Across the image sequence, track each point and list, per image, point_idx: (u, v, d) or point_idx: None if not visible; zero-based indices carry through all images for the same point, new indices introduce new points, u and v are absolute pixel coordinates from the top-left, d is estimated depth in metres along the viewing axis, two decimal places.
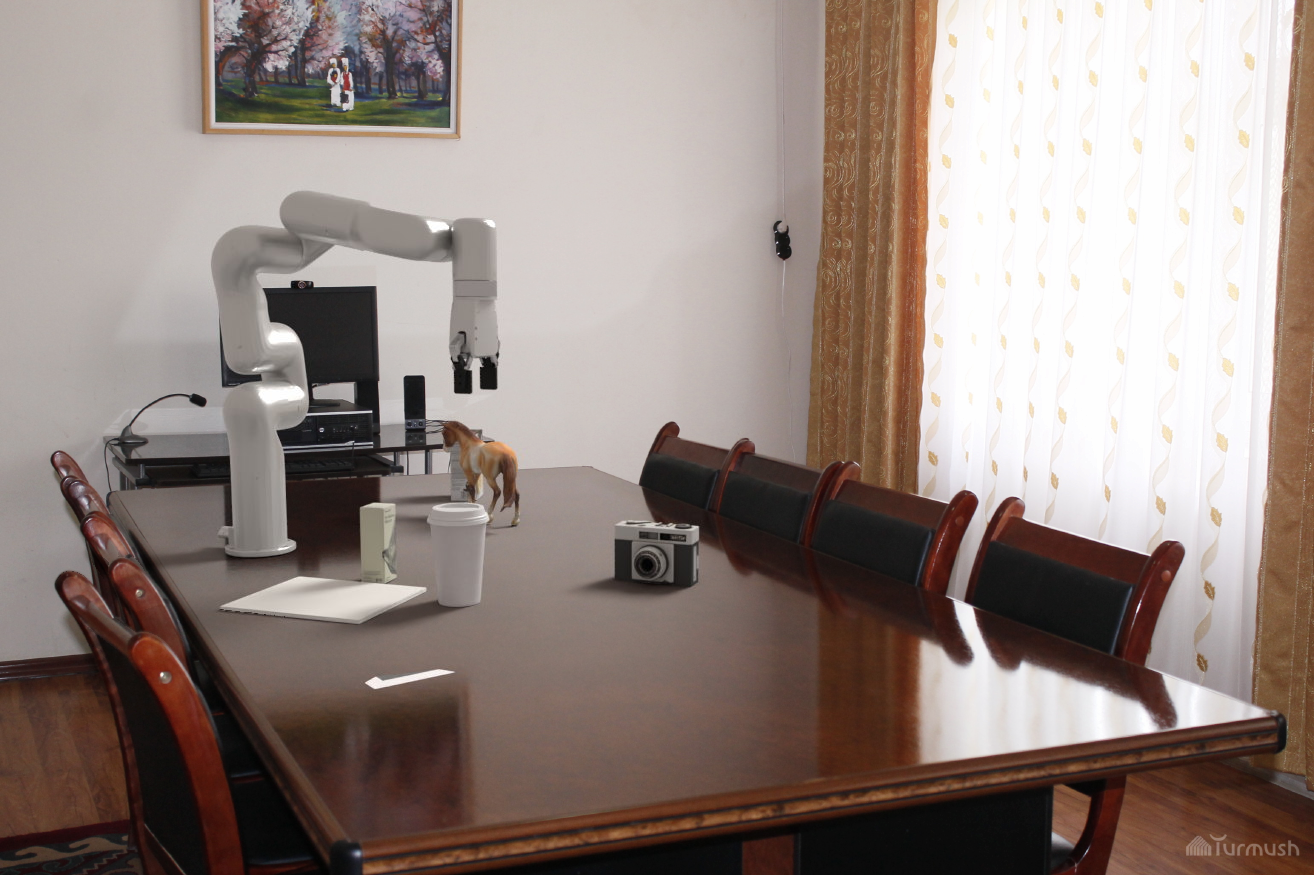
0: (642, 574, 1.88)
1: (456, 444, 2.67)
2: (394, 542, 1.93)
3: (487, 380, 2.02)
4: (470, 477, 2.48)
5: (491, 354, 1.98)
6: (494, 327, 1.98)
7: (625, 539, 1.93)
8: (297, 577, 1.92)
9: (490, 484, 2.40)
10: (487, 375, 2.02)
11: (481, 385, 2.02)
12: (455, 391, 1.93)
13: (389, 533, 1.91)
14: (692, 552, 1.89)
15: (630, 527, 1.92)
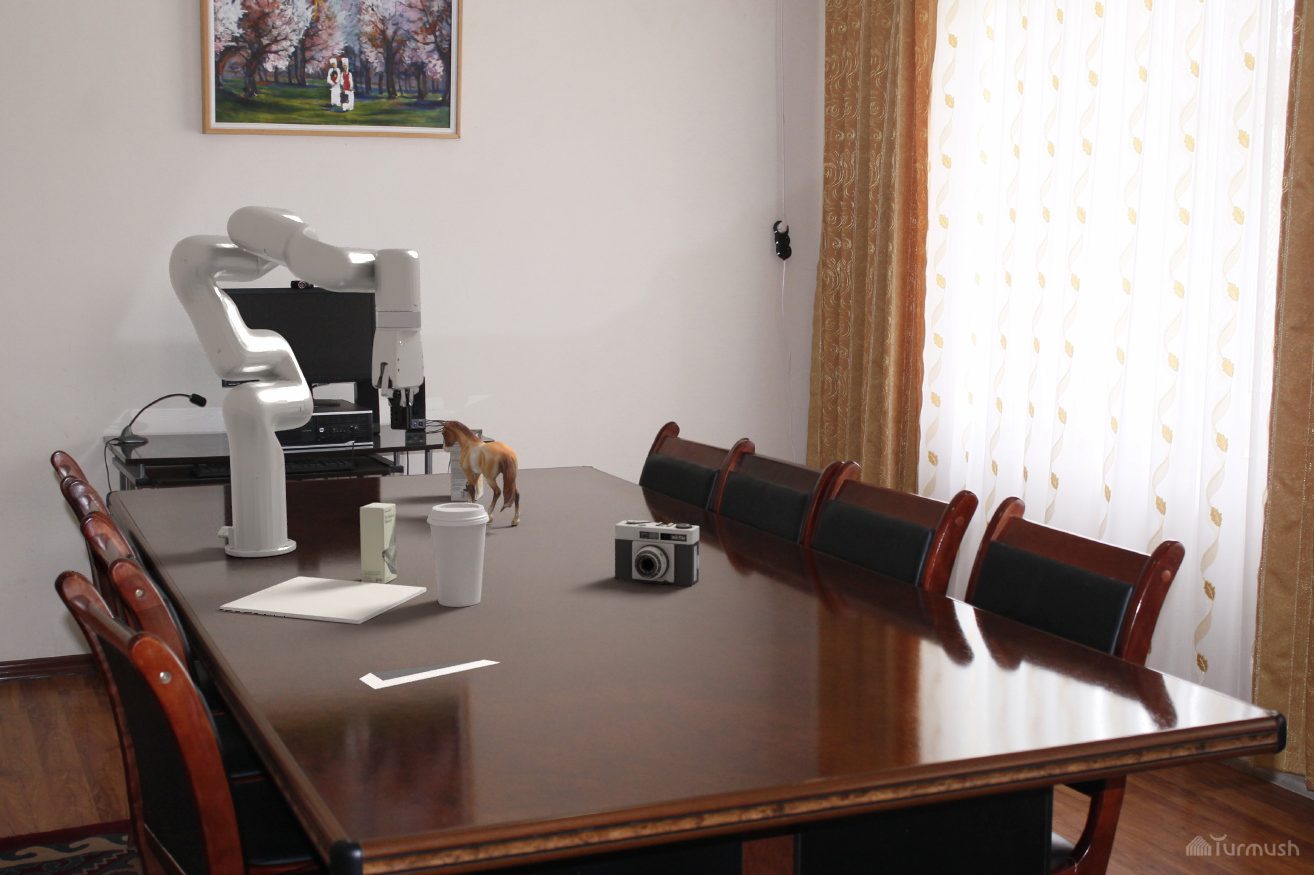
0: (643, 574, 1.88)
1: (456, 444, 2.67)
2: (394, 542, 1.93)
3: None
4: (470, 477, 2.48)
5: (416, 384, 1.98)
6: (419, 357, 1.98)
7: (625, 539, 1.93)
8: (297, 577, 1.92)
9: (490, 484, 2.40)
10: None
11: None
12: (392, 427, 1.97)
13: (389, 533, 1.91)
14: (693, 552, 1.90)
15: (630, 527, 1.92)
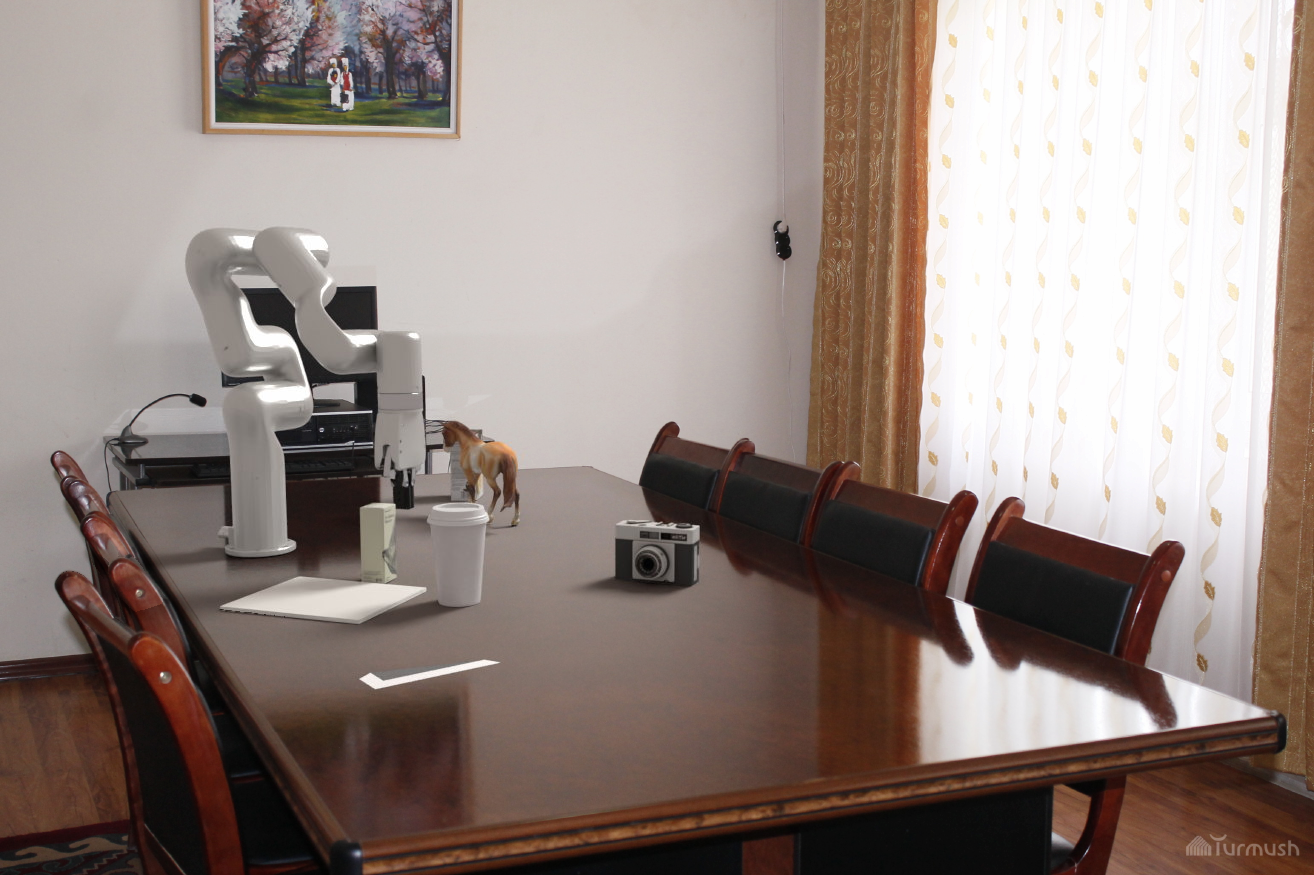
0: (643, 573, 1.89)
1: (456, 444, 2.67)
2: (394, 542, 1.93)
3: None
4: (470, 477, 2.48)
5: (418, 464, 1.99)
6: (421, 437, 1.99)
7: (626, 539, 1.93)
8: (297, 577, 1.92)
9: (490, 484, 2.40)
10: None
11: None
12: None
13: (389, 533, 1.91)
14: (693, 551, 1.90)
15: (631, 527, 1.92)
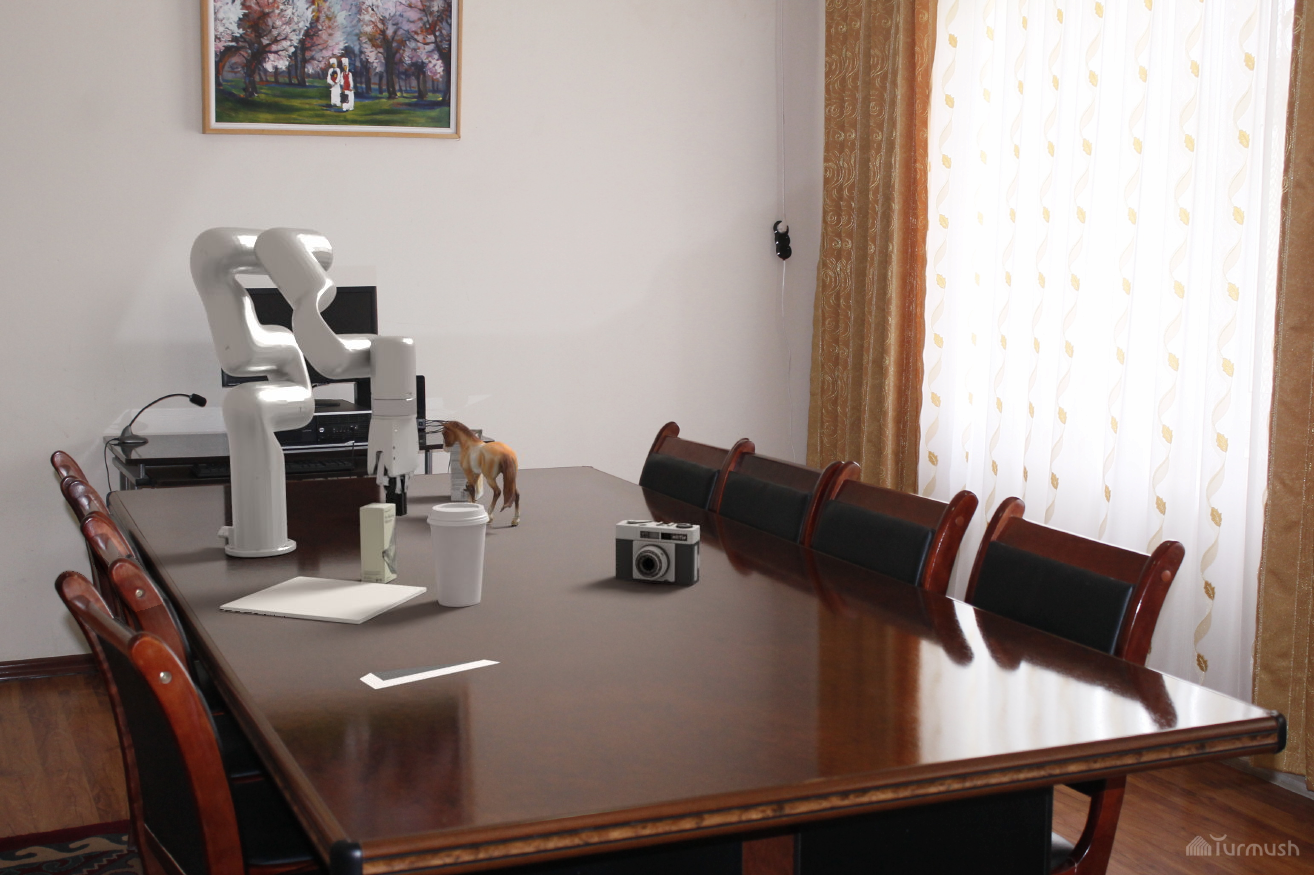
0: (643, 573, 1.89)
1: (456, 444, 2.67)
2: (394, 542, 1.93)
3: None
4: (470, 477, 2.48)
5: (411, 470, 1.98)
6: (414, 443, 1.98)
7: (626, 539, 1.93)
8: (297, 577, 1.92)
9: (490, 484, 2.40)
10: None
11: None
12: None
13: (389, 533, 1.91)
14: (693, 551, 1.90)
15: (631, 526, 1.93)
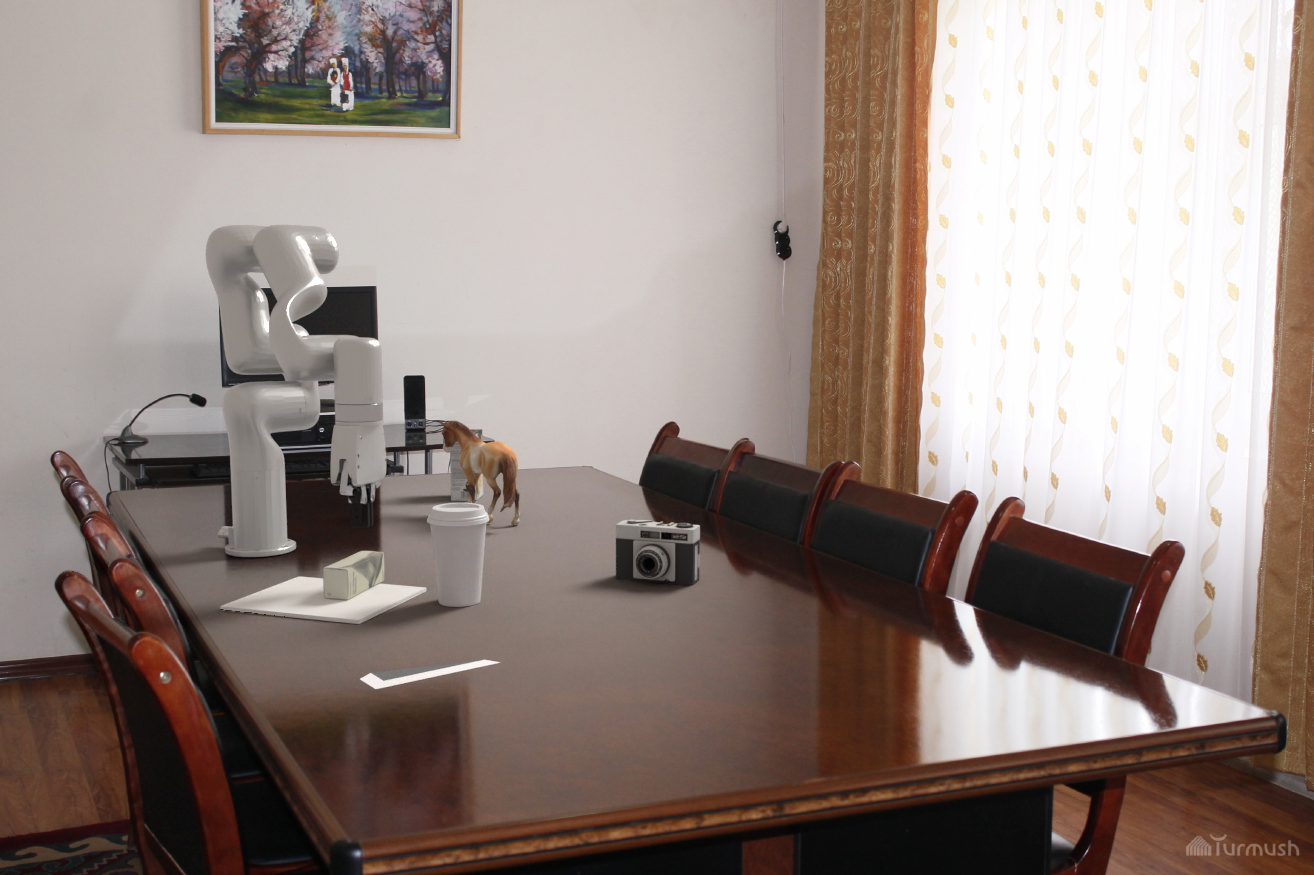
0: (644, 573, 1.89)
1: (456, 444, 2.67)
2: (367, 565, 1.83)
3: None
4: (470, 477, 2.48)
5: (378, 479, 1.87)
6: (381, 450, 1.87)
7: (626, 539, 1.93)
8: (297, 577, 1.92)
9: (490, 484, 2.40)
10: None
11: None
12: (352, 524, 1.86)
13: (362, 580, 1.82)
14: (694, 551, 1.90)
15: (631, 526, 1.93)
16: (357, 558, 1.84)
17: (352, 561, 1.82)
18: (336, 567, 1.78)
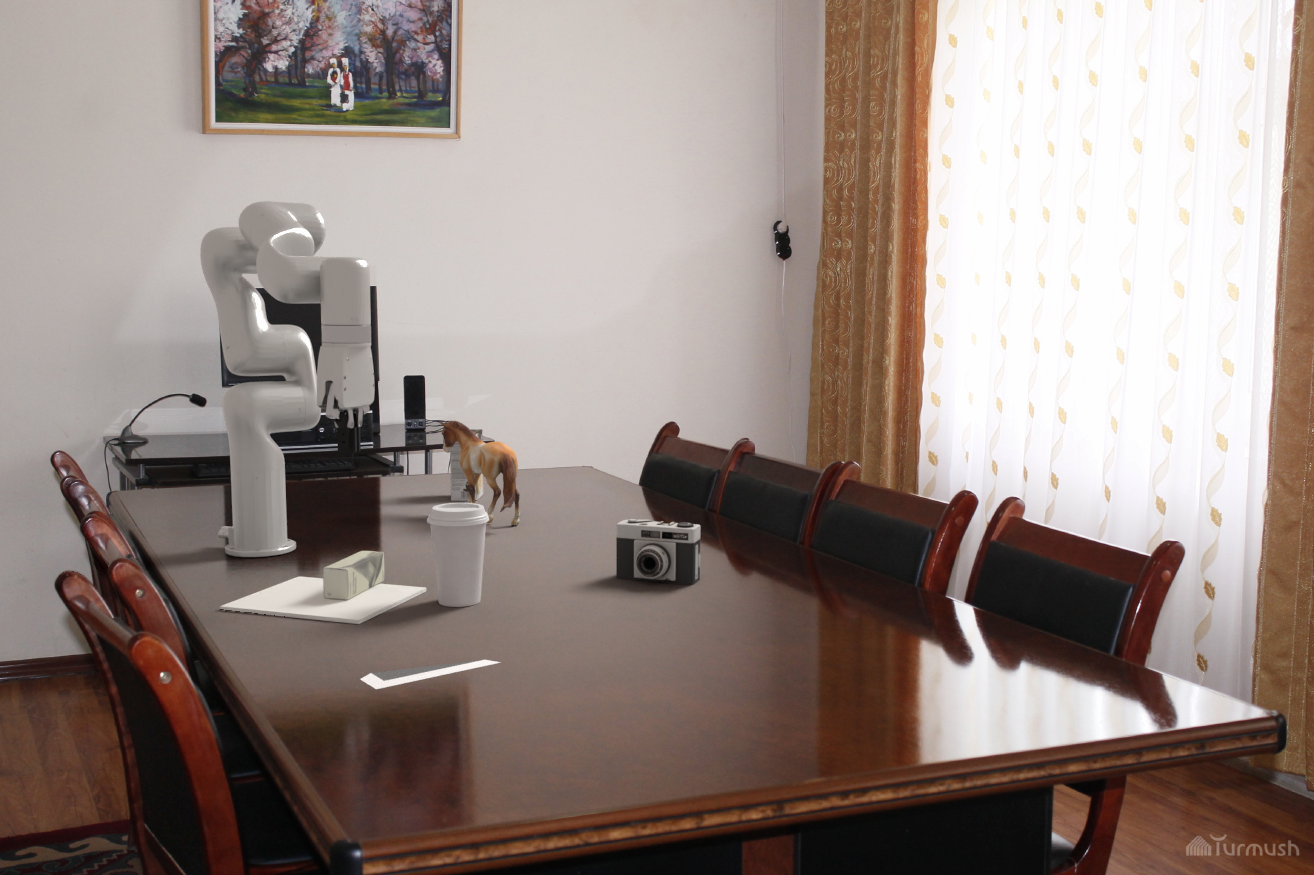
0: (645, 572, 1.89)
1: (456, 444, 2.67)
2: (367, 565, 1.83)
3: None
4: (470, 477, 2.48)
5: (366, 404, 1.83)
6: (369, 374, 1.83)
7: (627, 538, 1.94)
8: (297, 577, 1.92)
9: (490, 484, 2.40)
10: None
11: None
12: (339, 450, 1.82)
13: (362, 580, 1.82)
14: (694, 550, 1.91)
15: (632, 526, 1.93)
16: (357, 558, 1.84)
17: (352, 561, 1.82)
18: (336, 567, 1.78)
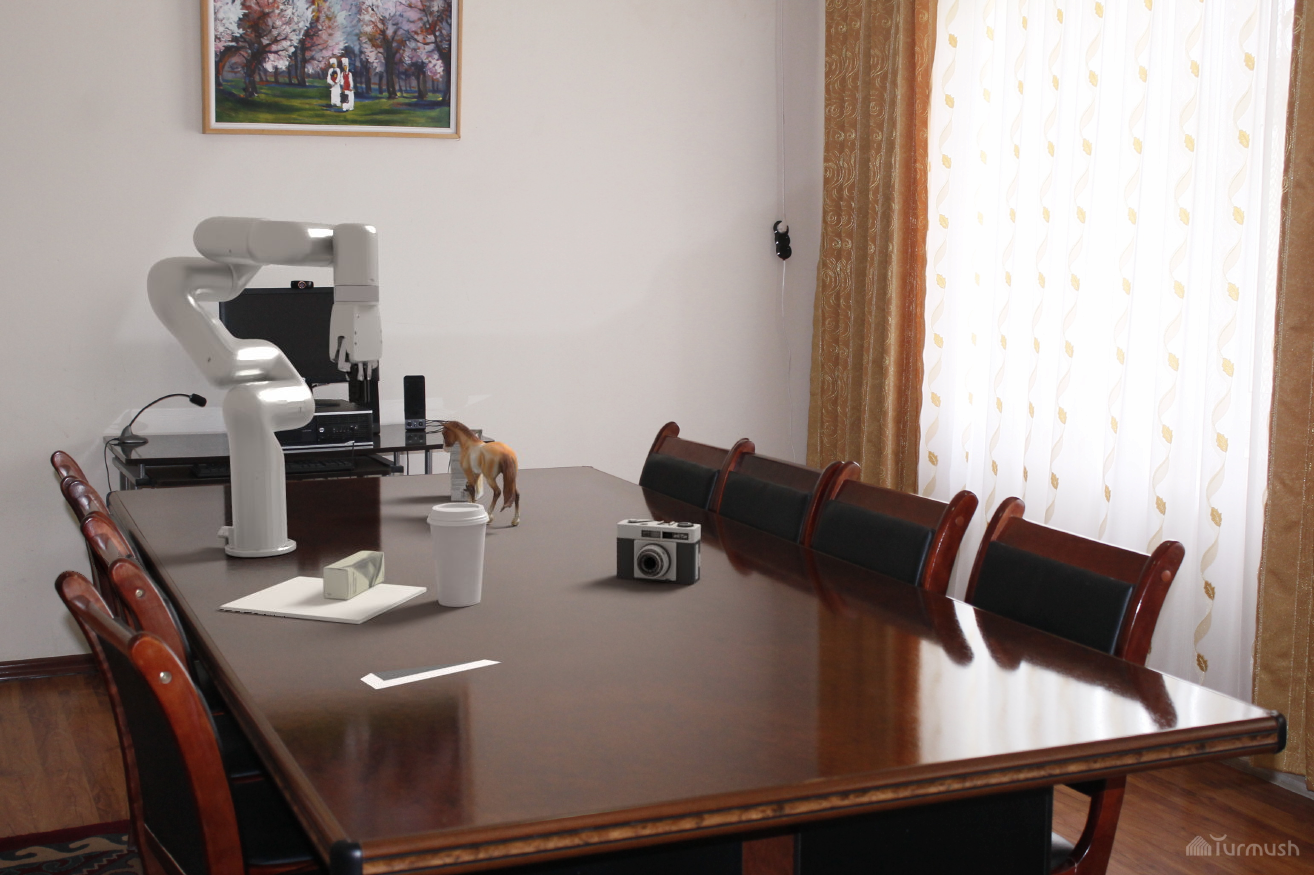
0: (645, 572, 1.90)
1: (456, 444, 2.67)
2: (367, 565, 1.83)
3: None
4: (470, 477, 2.48)
5: (374, 358, 2.00)
6: (377, 332, 2.00)
7: (627, 538, 1.94)
8: (297, 577, 1.92)
9: (490, 484, 2.40)
10: None
11: None
12: (350, 400, 1.99)
13: (362, 580, 1.82)
14: (694, 550, 1.91)
15: (632, 526, 1.93)
16: (357, 558, 1.84)
17: (352, 561, 1.82)
18: (336, 567, 1.78)
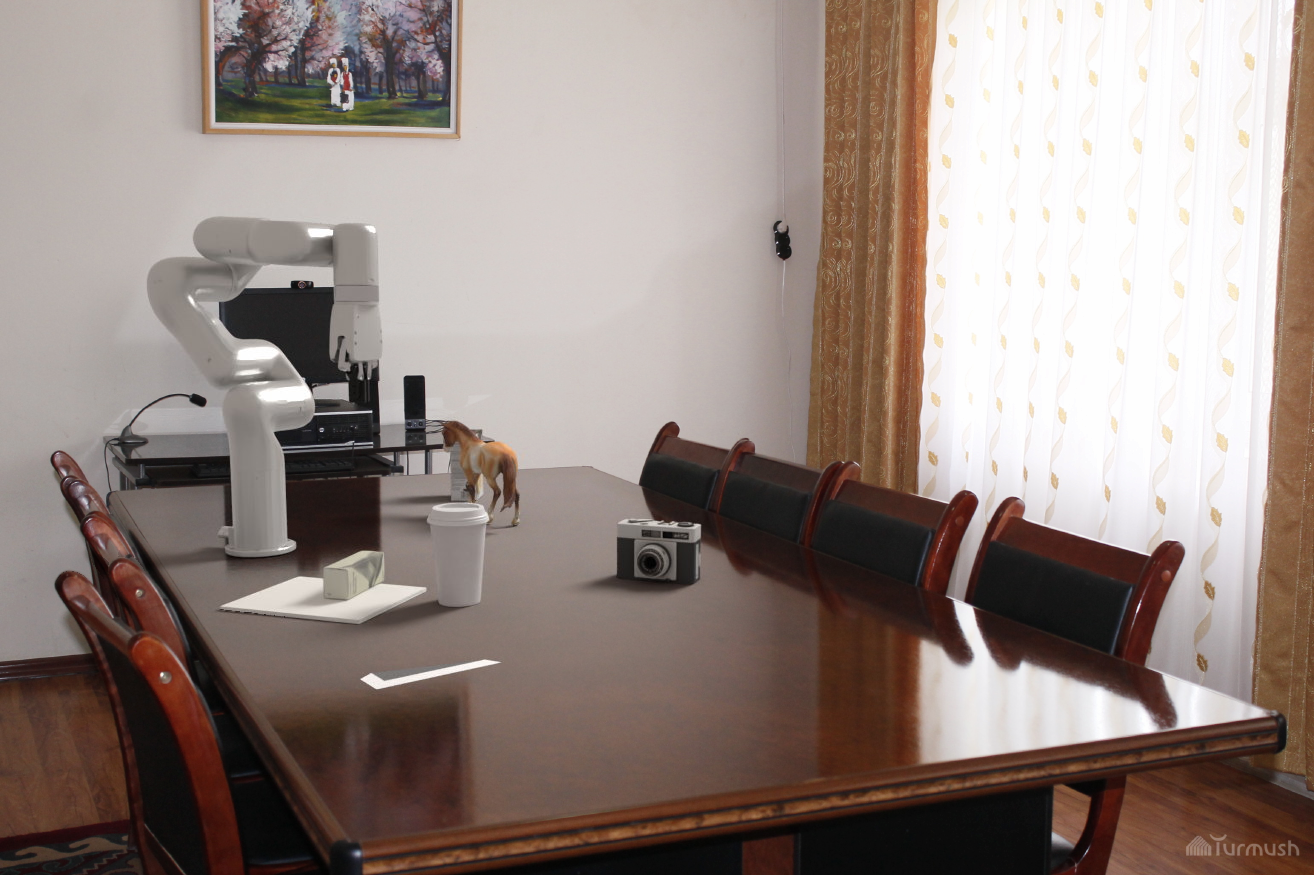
0: (645, 572, 1.90)
1: (456, 444, 2.67)
2: (367, 565, 1.83)
3: None
4: (470, 477, 2.48)
5: (374, 358, 2.00)
6: (377, 331, 2.00)
7: (627, 538, 1.94)
8: (297, 577, 1.92)
9: (490, 484, 2.40)
10: None
11: None
12: (350, 400, 1.99)
13: (362, 580, 1.82)
14: (695, 550, 1.91)
15: (633, 525, 1.93)
16: (357, 558, 1.84)
17: (352, 561, 1.82)
18: (336, 567, 1.78)
